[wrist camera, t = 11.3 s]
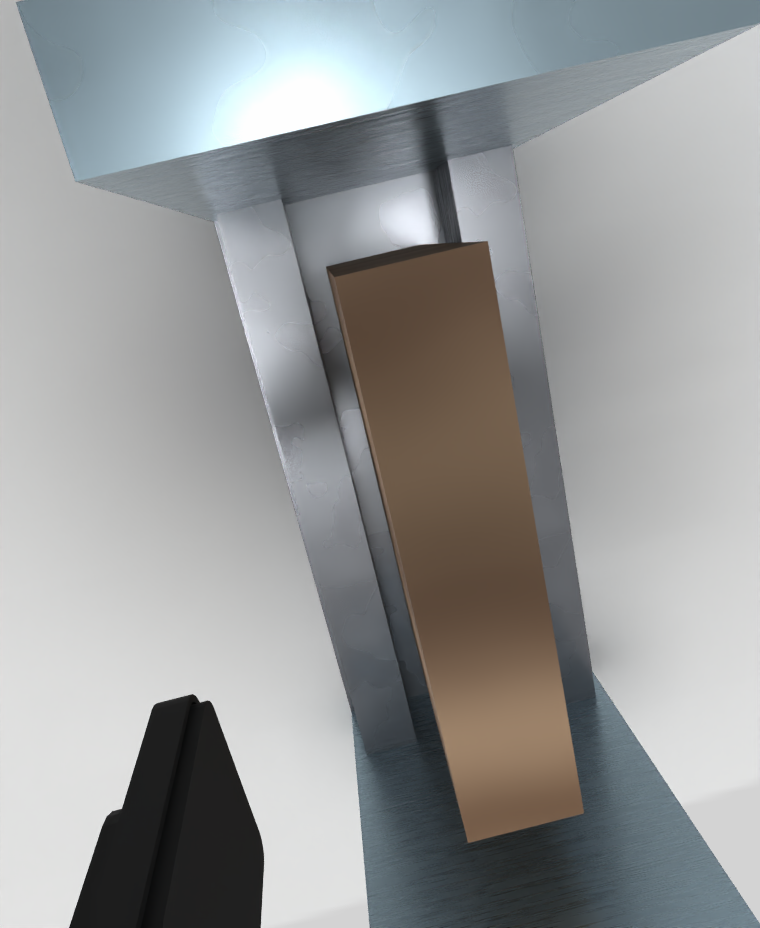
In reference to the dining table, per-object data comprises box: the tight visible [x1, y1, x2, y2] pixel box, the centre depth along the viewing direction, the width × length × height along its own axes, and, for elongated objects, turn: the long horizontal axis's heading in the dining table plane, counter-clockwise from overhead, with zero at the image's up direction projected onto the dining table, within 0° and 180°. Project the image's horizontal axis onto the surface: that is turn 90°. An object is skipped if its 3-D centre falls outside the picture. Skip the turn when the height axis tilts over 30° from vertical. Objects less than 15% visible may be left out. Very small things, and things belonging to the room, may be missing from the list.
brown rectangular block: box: [326, 241, 584, 843], centre depth 20 cm, size 14×3×9 cm, turn 13°
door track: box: [16, 0, 760, 928], centre depth 18 cm, size 22×9×14 cm, turn 13°
